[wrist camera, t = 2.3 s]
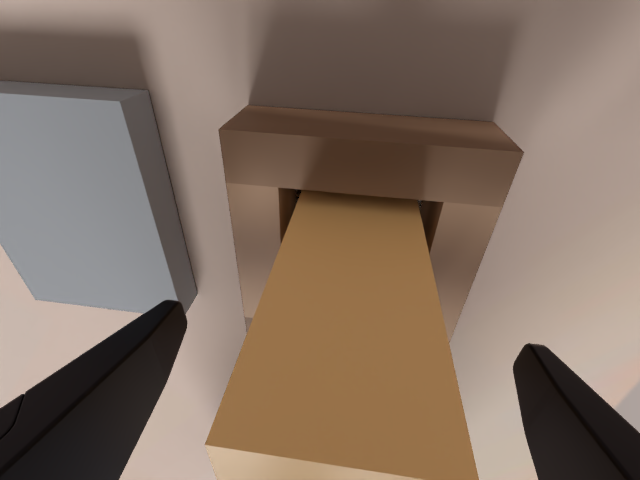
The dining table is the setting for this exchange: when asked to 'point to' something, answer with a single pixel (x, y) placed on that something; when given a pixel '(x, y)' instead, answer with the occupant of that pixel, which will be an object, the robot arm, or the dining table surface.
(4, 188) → the grey rubber mat
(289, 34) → the dining table surface
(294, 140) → the brown square frame
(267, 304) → the amber plug
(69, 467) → the robot arm
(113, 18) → the dining table surface
